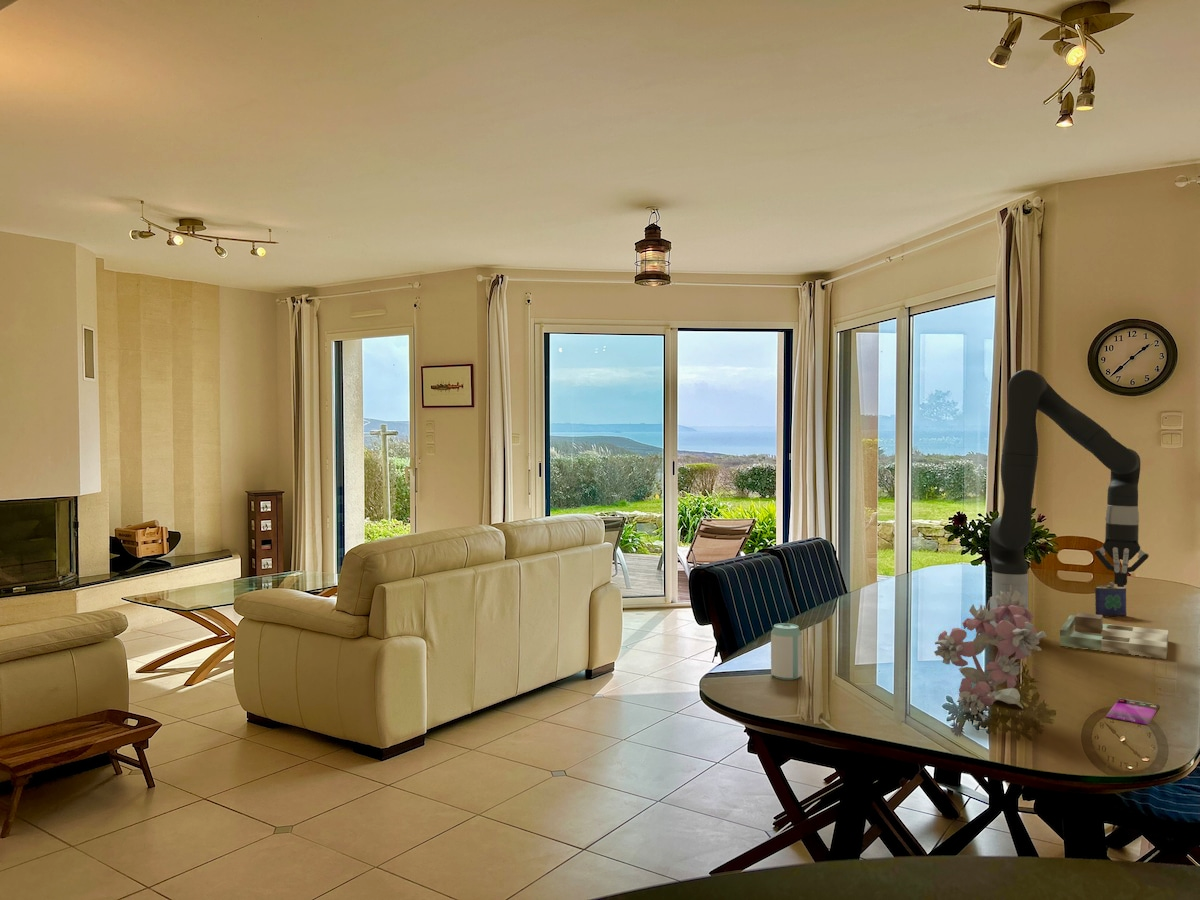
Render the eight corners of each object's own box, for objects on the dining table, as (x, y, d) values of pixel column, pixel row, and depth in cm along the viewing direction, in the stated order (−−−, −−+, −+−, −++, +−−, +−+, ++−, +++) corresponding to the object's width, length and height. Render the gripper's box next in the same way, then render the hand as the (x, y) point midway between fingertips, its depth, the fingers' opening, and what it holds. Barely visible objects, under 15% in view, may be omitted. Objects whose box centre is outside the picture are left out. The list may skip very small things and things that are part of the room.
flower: (906, 679, 188) (917, 589, 176) (1002, 667, 189) (1019, 576, 178) (949, 747, 170) (965, 651, 158) (1055, 733, 171) (1078, 636, 160)
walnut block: (1102, 629, 230) (1102, 615, 230) (1100, 633, 225) (1100, 618, 225) (1077, 626, 233) (1077, 612, 233) (1075, 630, 228) (1075, 616, 228)
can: (765, 674, 198) (765, 623, 198) (790, 671, 201) (790, 621, 201) (781, 682, 192) (781, 630, 192) (807, 678, 194) (807, 627, 194)
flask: (1123, 615, 263) (1123, 581, 263) (1129, 617, 260) (1129, 582, 260) (1093, 615, 264) (1093, 581, 264) (1098, 617, 261) (1098, 582, 261)
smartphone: (1159, 708, 173) (1159, 704, 173) (1147, 727, 161) (1147, 722, 161) (1118, 701, 177) (1118, 697, 177) (1104, 719, 166) (1104, 714, 166)
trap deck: (1168, 641, 229) (1168, 624, 228) (1166, 659, 210) (1166, 641, 210) (1070, 630, 242) (1070, 615, 242) (1060, 646, 223) (1060, 629, 223)
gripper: (1152, 523, 224) (1150, 587, 224) (1095, 519, 231) (1093, 582, 232) (1150, 525, 218) (1149, 591, 218) (1092, 521, 225) (1090, 585, 225)
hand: (1120, 586), depth 225 cm, fingers closed
